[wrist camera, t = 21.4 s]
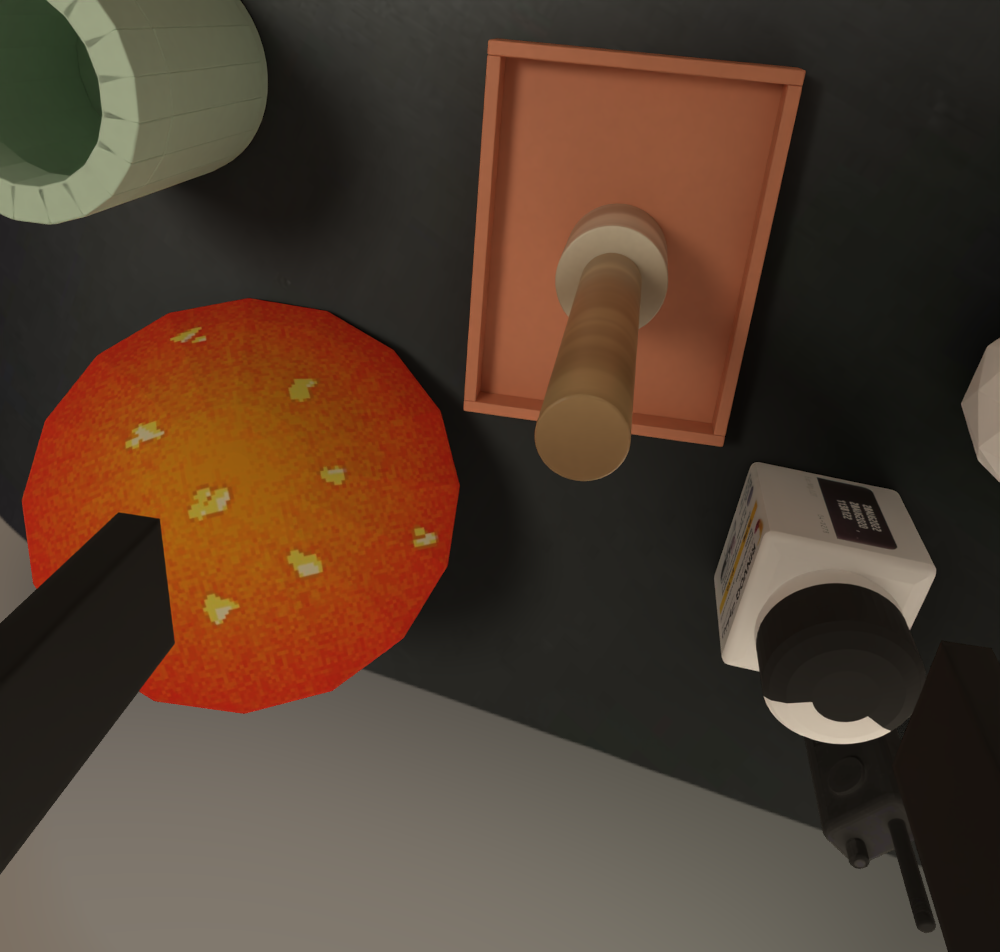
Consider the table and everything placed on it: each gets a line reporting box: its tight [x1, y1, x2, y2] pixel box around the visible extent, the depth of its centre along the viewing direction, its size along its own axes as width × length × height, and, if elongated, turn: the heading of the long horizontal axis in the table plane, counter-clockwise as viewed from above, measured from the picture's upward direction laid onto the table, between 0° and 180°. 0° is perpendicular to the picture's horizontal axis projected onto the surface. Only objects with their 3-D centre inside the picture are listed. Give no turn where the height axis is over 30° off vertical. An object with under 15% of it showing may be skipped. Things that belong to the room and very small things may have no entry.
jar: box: [0, 0, 268, 225], centre depth 37 cm, size 10×10×12 cm
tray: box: [464, 38, 806, 447], centre depth 42 cm, size 17×13×2 cm
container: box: [714, 462, 936, 744], centre depth 43 cm, size 8×8×13 cm
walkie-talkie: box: [804, 728, 936, 933], centre depth 46 cm, size 5×3×15 cm
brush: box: [535, 203, 668, 481], centre depth 33 cm, size 5×5×21 cm
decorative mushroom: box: [22, 298, 460, 714], centre depth 44 cm, size 15×21×15 cm
